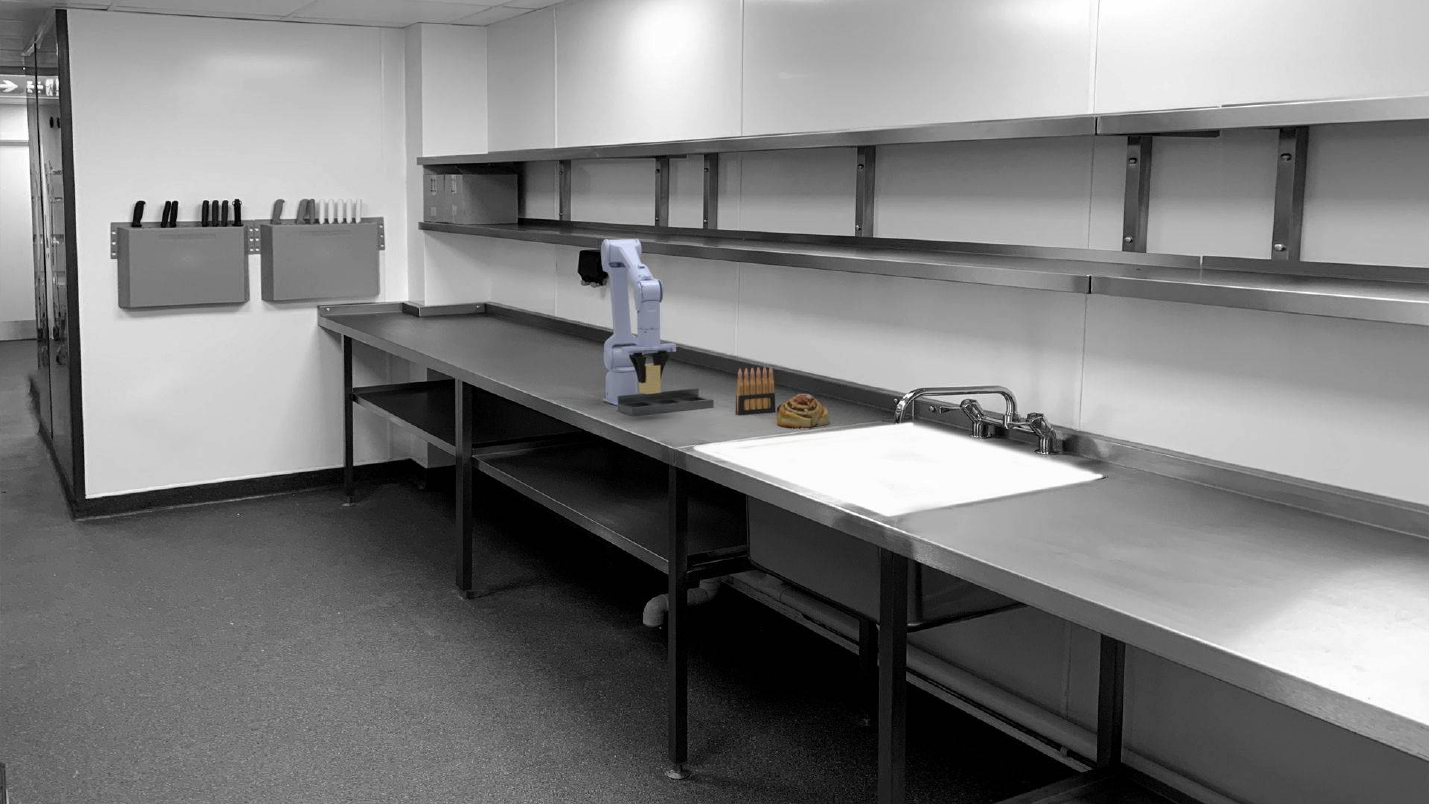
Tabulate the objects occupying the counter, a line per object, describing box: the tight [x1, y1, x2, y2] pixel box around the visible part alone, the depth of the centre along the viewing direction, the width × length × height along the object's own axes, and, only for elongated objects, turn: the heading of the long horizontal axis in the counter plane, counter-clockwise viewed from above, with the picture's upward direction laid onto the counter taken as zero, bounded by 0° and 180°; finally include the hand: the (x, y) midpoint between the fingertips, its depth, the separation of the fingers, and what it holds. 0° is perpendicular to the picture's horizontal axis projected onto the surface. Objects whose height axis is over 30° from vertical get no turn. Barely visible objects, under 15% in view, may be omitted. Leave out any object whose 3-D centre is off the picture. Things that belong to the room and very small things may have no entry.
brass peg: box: [638, 362, 662, 394], centre depth 303 cm, size 4×4×7 cm
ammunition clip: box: [735, 366, 777, 416], centre depth 309 cm, size 11×2×12 cm, turn 113°
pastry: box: [776, 393, 830, 430], centre depth 296 cm, size 13×15×8 cm
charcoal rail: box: [617, 387, 715, 417], centre depth 316 cm, size 9×24×4 cm, turn 120°
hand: (649, 381), depth 303 cm, fingers closed on brass peg, 4 cm apart
